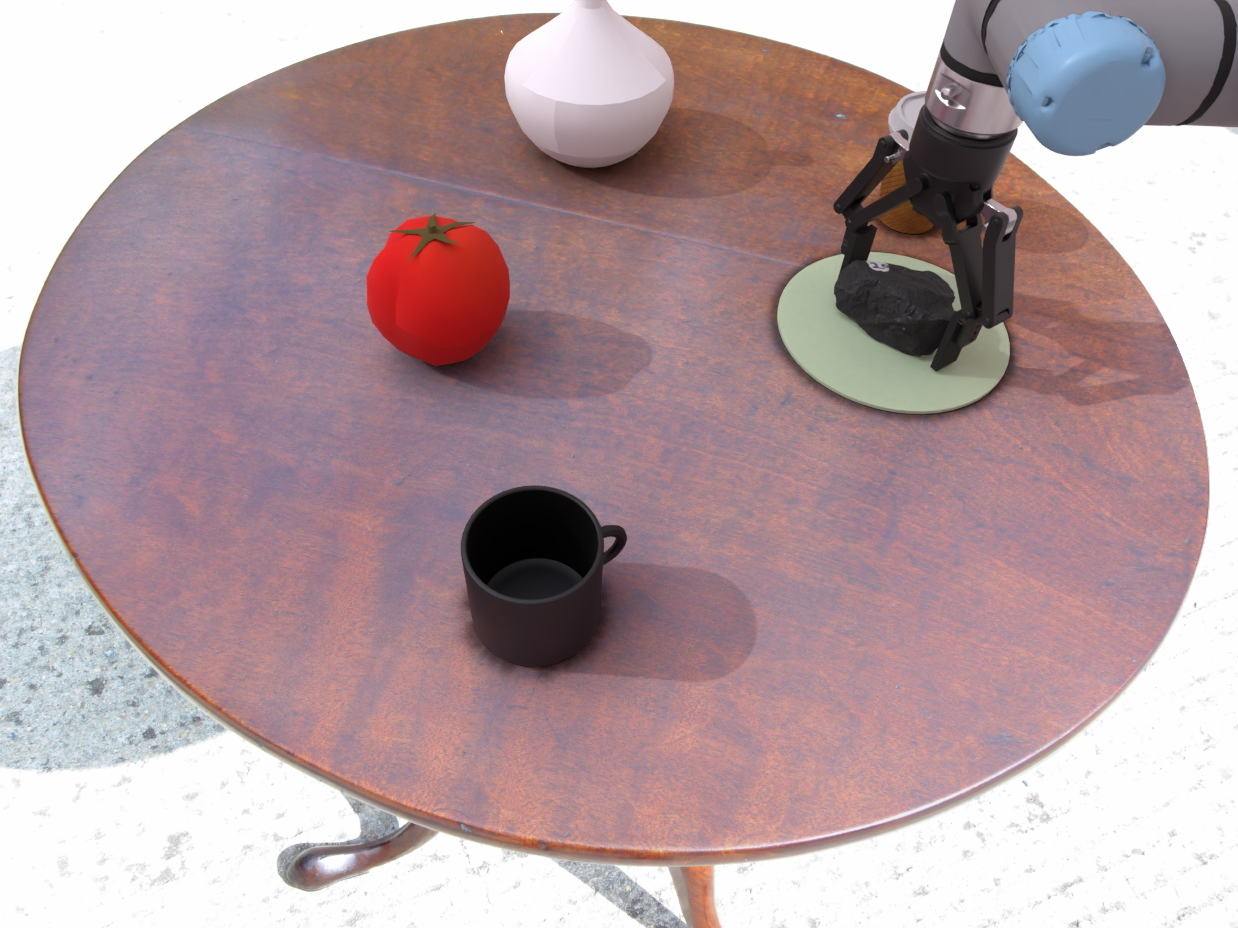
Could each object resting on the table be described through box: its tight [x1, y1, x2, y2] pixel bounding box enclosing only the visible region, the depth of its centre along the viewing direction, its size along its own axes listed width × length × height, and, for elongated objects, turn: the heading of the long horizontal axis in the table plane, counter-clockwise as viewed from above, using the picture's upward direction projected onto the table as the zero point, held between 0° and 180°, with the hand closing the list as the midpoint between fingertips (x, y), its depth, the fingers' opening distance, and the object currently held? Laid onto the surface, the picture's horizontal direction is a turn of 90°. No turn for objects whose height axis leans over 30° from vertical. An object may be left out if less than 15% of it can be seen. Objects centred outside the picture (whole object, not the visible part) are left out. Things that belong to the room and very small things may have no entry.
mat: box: [776, 251, 1011, 415], centre depth 88 cm, size 22×22×1 cm
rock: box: [834, 260, 957, 357], centre depth 85 cm, size 9×10×6 cm
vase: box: [503, 0, 675, 169], centre depth 98 cm, size 18×18×19 cm
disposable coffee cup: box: [877, 90, 935, 235], centre depth 95 cm, size 10×10×12 cm
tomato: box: [365, 212, 511, 367], centre depth 79 cm, size 12×12×13 cm
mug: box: [460, 484, 628, 667], centre depth 64 cm, size 9×12×9 cm
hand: (893, 323), depth 87 cm, fingers closed on rock, 12 cm apart
